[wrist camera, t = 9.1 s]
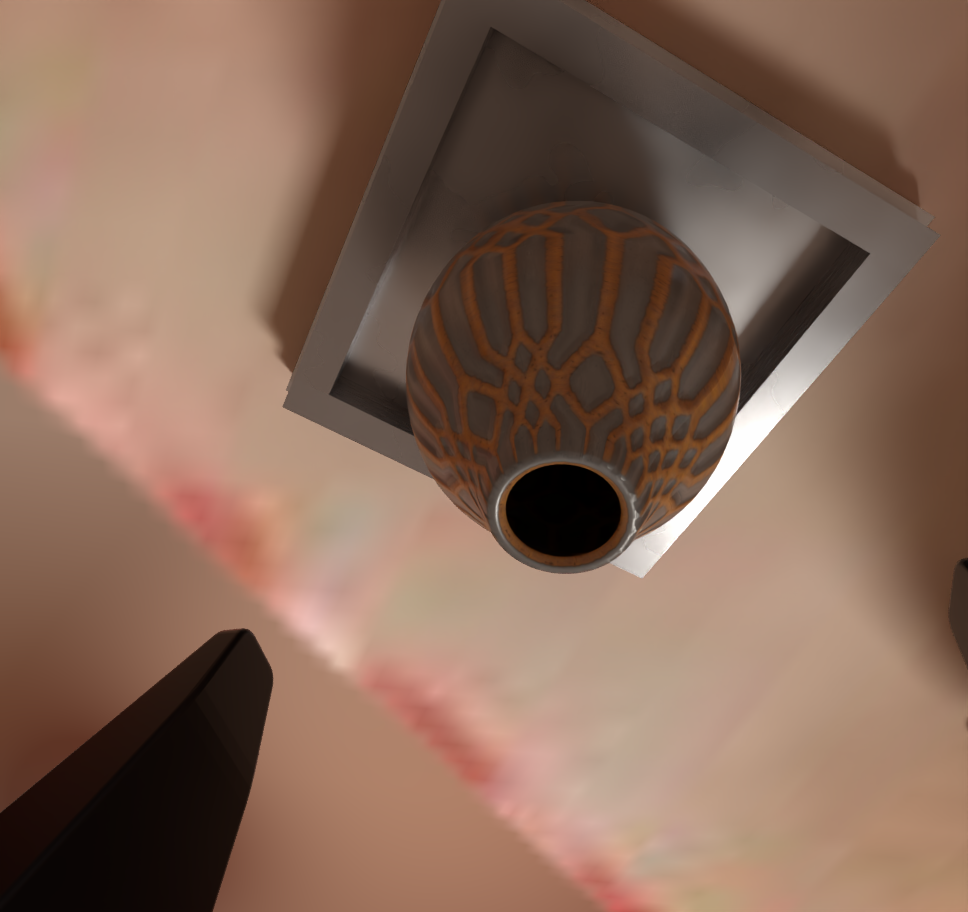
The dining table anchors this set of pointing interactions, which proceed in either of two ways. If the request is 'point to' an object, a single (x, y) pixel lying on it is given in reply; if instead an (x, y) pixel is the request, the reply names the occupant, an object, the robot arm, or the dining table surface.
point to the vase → (573, 381)
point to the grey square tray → (606, 179)
